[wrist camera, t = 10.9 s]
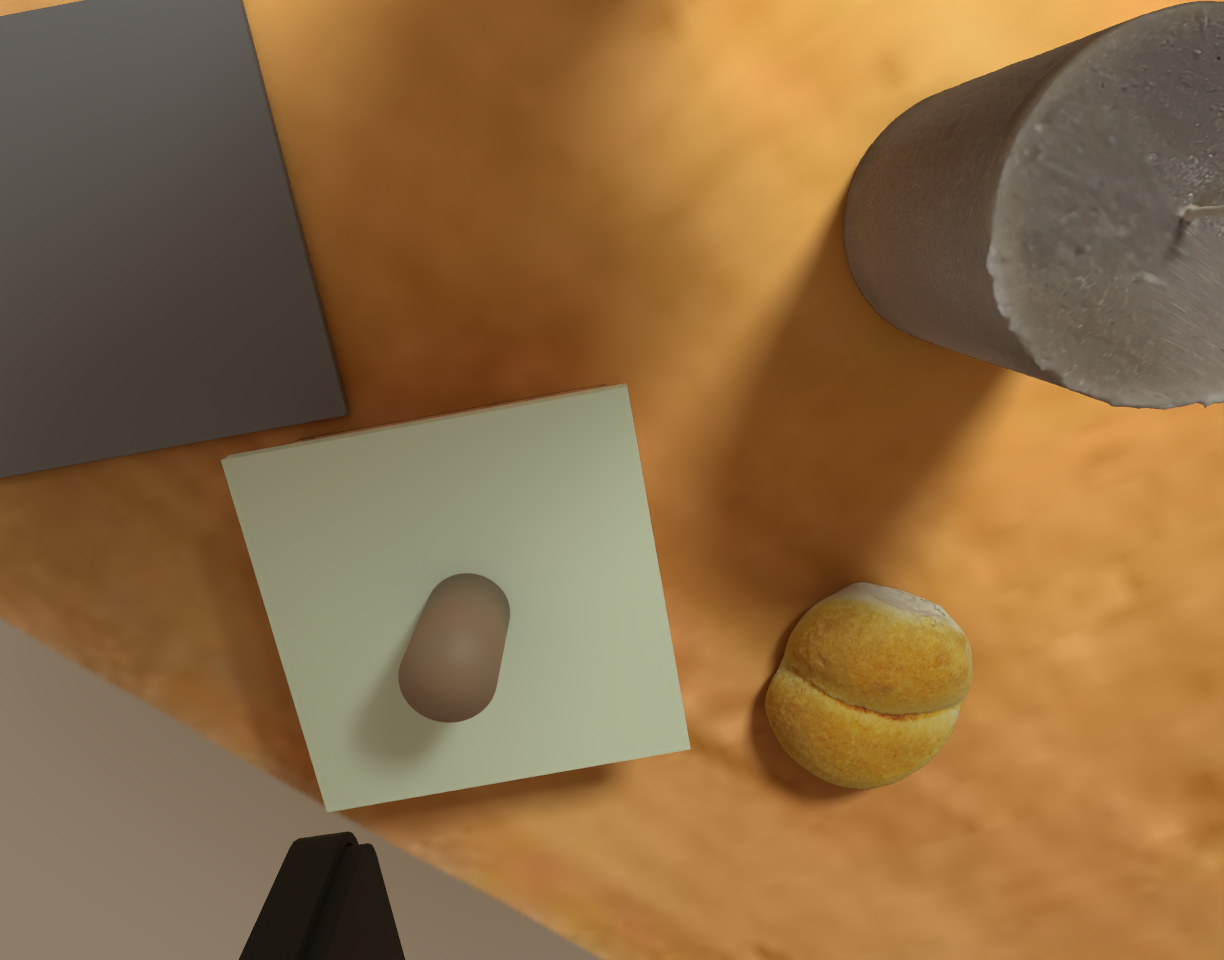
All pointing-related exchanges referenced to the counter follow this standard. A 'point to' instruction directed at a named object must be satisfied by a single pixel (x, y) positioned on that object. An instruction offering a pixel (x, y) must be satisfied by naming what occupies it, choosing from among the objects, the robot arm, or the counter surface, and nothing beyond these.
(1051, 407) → the counter surface
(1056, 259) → the pillar candle
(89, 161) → the mat
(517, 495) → the lid
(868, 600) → the bread roll
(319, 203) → the counter surface
